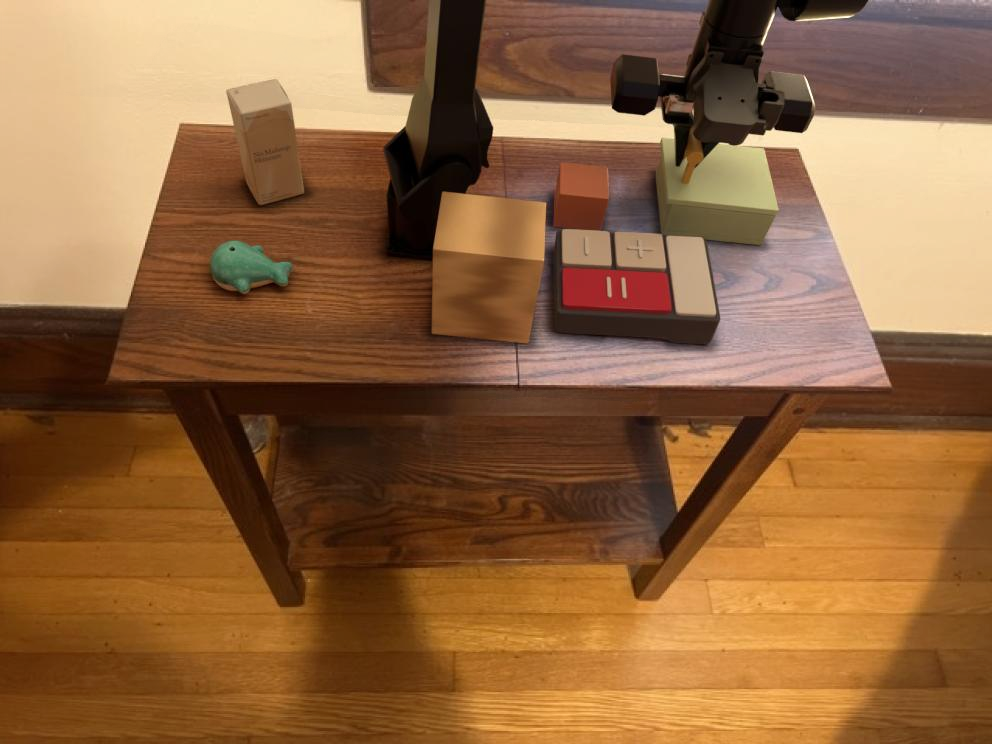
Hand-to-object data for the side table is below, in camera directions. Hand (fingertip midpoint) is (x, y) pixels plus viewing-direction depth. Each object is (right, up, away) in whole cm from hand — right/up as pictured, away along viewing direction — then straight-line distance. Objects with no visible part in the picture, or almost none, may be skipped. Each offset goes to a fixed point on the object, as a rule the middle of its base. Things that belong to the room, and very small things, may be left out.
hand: (684, 165), depth 77 cm
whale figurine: (-43, -13, -7) cm, 45 cm away
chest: (+4, -4, +4) cm, 7 cm away
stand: (-21, -16, -7) cm, 27 cm away
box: (-43, -2, +1) cm, 43 cm away
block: (-11, -5, +2) cm, 12 cm away
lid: (+4, -1, +1) cm, 4 cm away
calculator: (-7, -14, -4) cm, 16 cm away
